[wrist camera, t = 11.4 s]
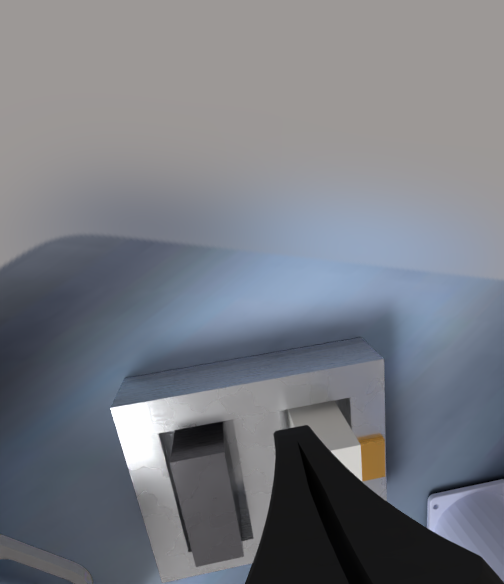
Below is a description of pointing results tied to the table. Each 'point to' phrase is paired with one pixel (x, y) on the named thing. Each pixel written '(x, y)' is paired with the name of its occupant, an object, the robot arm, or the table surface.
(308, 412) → the rectangular block
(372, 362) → the rack
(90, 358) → the table surface
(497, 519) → the robot arm
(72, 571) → the network device
